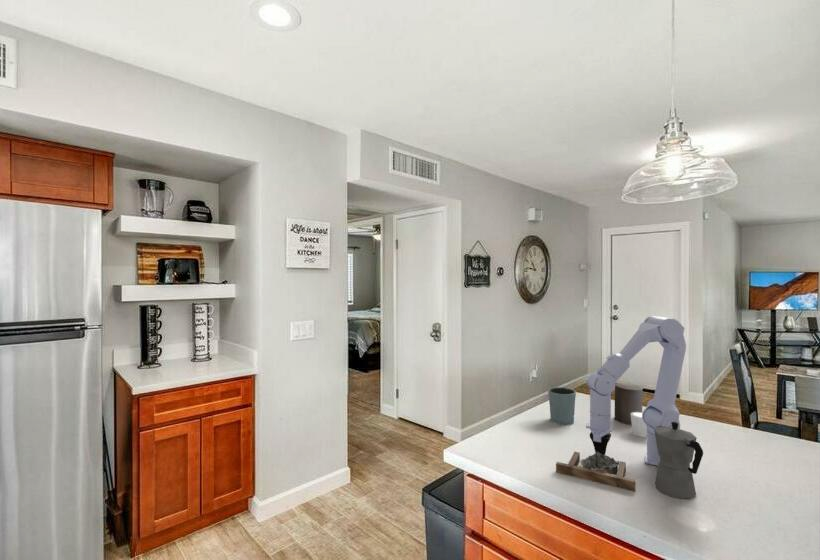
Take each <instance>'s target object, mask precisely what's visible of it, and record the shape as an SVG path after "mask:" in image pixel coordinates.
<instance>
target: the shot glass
mask: <svg viewBox="0 0 820 560" xmlns="http://www.w3.org/2000/svg"><path fill="white" fill-rule="evenodd" d="M642 413H643V411H642V412H632V413H631V423H632V425H631V429H632V430H631V432H632V435H634V436H637V437H641V438H647V428H646V423H645V422H644V421H643V419H642Z"/></svg>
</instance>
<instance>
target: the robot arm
mask: <svg viewBox="0 0 820 560" xmlns="http://www.w3.org/2000/svg"><path fill="white" fill-rule="evenodd" d="M684 333H685V327H684V326H683V325H682V324H681V322H680V321H679V320H678V319H676V318H674V317H673V318H672V317H663V316H658V315H649V316H647V317H646V318H645V320H644V321H642V322H641V323H640V324H639V327H638V330H637V331H636V332H635V333H634V334H633V336H632V337H631V338H630V340H629V341H628V342H627V343H626V344H625V346H624V347H623V348H622V349H621V351H620V352H619V353H613V354H611V355H608V356H607V357H606V359H607V360H606V361H605V362H604V363H603V364H602V365H601V366H600V367H598V368H597V369H596V371H594V372H591V373H590V374H589V376H588V377H587V380H586V381H585V382H586V385H587V386H588V388H589V423H587V424H586V425H585V428H586V429H589V430H590V433H589V438H590V440H591V442H592V444H593V448H594V454H595V453H596V452H597V451H598V452H599V453H601V454H602V455H604V454H605V455H606V453H607V447H608V443H609V442H610V441H611V437H612V434H611V433H612V422H611V421H612V407H611V406H612V397H611V396H612V392H615V384H616V383H618V380H619V379H620V378H621V377H622V376H623V375H624V374H625V373H626V371H627V370H629V368H630V366H631V364H630V361H631V360H632V359H633V358H634V357H635V356H636V355H637V354H638V353H639V352H641V351H642V349H644V348H645V347H646V346H647V345H648V344H650V343H656V342H658V343H659V344H660V346H661V347H662V348H663V352H662V356H661V361H660V365H659V366H660V367H659V370H658V376H657V381H656V385H655V389H654V390H655V391H654V396H653V398H652V399H650V400H649V401H647V405H646V407H645V409H644V410H642V412H643V413H642V419H643V421H644V422H645V423H646V428H647V437H646V452H645V456H644V464H647V465H652V466H657V467H658V464H659V462H660V456H659V455H658V450H657V444H656V438H655V431H654V429H657V427H656V426H665V427H669V428H672V424H671V422H677V423H678V429H681V423H680V415H681V414H680V412H679V410H678V408H677V405H676V399H677V394H678V389H679V385H680V380H681V375H682V370H683V364H684V360H685V355H686V351H687V344H686V340H685V336H684Z"/></svg>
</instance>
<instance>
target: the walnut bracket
mask: <svg viewBox="0 0 820 560" xmlns="http://www.w3.org/2000/svg"><path fill="white" fill-rule="evenodd" d="M580 455H581V454H580V451H574V452H573V453H572V455H571V458H570V460H569V462H567V463H564V462H559V461H556V462H555V463H556V464H555V473H557V474H560V475H561V474H562V475H565V476H566V475H567V476H570V477H574V478H577V479H582V480H585V481H589V482H595V483H599V484H602V485H607V486H610V487H615V488H618V489H619V488H620V489H623V490H627V491H631V492H636V479H635V478H631V477H626V469H627V467H626V466H627V464H626V462H625V461H620V460H619V465H618V471H617V473H616V474H609V473H604V472H600V471H596V469H595V470H591V469H587V468H583V466H582V467H581V466H578V465H579V463H580V462H581V460H580V459H581V457H580Z"/></svg>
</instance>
